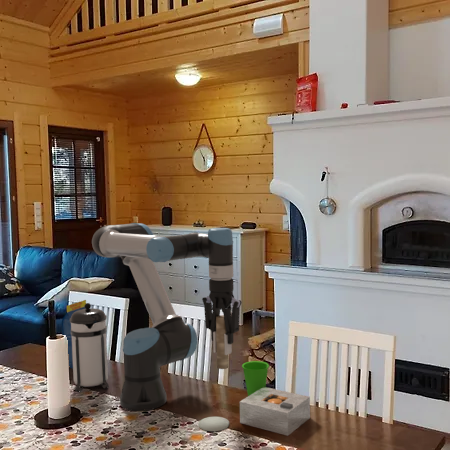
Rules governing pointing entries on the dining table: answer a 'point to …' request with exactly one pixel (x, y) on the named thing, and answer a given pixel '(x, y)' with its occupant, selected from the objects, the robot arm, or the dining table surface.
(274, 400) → the plunger
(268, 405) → the grey block with hole
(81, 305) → the blue food package
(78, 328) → the coffee press
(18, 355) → the dining table surface
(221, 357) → the dowel
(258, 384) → the cup
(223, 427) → the pad
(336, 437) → the dining table surface
